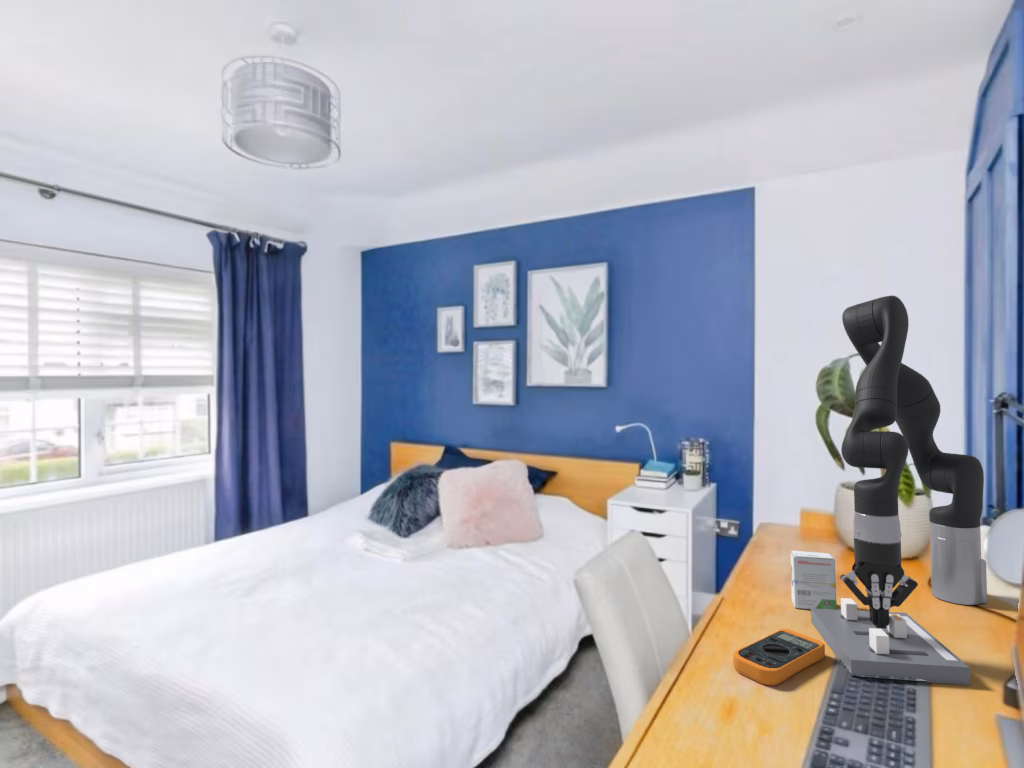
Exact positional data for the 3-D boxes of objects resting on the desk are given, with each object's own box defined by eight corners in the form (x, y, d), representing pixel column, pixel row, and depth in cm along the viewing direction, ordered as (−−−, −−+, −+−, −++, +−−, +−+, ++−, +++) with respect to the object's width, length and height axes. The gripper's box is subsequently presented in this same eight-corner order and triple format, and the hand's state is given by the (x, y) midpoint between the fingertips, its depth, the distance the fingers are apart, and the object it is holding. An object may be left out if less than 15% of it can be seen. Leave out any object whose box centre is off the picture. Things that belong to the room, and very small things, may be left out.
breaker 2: (881, 646, 101) (881, 628, 101) (889, 654, 98) (888, 636, 98) (869, 645, 102) (869, 628, 102) (876, 653, 99) (876, 635, 99)
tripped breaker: (899, 631, 107) (898, 613, 107) (906, 638, 104) (906, 620, 104) (887, 630, 107) (887, 613, 107) (894, 637, 104) (894, 619, 104)
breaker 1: (851, 614, 115) (851, 598, 115) (857, 620, 112) (857, 604, 112) (841, 613, 115) (840, 598, 115) (846, 619, 112) (846, 603, 112)
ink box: (794, 608, 126) (792, 556, 126) (791, 599, 131) (789, 549, 131) (837, 612, 123) (835, 559, 123) (832, 603, 128) (831, 551, 128)
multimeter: (727, 671, 101) (727, 652, 101) (783, 642, 111) (783, 625, 111) (772, 692, 94) (771, 672, 94) (828, 660, 104) (827, 641, 104)
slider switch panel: (906, 627, 115) (906, 612, 115) (970, 685, 93) (969, 666, 93) (811, 622, 119) (810, 607, 119) (851, 677, 97) (850, 659, 97)
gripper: (906, 531, 108) (909, 620, 109) (831, 529, 111) (834, 616, 111) (926, 542, 101) (929, 638, 101) (845, 540, 104) (848, 633, 104)
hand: (879, 626), depth 106 cm, fingers closed
